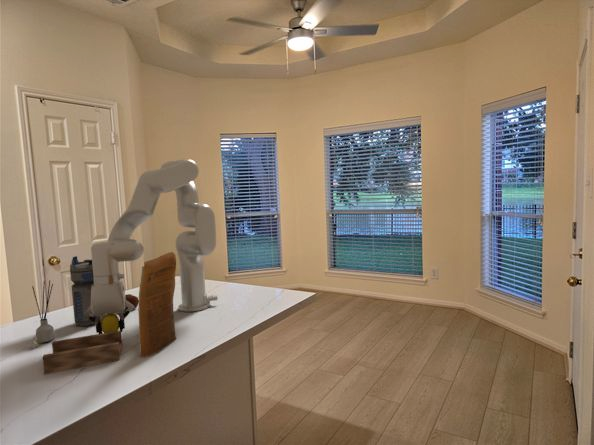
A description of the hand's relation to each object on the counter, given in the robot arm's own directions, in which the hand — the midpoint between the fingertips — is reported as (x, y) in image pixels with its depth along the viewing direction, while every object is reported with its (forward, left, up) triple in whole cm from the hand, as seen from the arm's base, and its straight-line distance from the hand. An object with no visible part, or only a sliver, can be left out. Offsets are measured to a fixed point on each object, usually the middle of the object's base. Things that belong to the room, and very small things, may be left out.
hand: (111, 332), depth 121 cm
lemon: (0, 0, -2) cm, 2 cm away
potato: (-3, -30, -2) cm, 30 cm away
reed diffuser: (+19, -4, -2) cm, 19 cm away
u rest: (+5, +16, -1) cm, 17 cm away
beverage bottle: (+8, -19, -2) cm, 21 cm away
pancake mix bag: (-15, +17, -2) cm, 23 cm away
